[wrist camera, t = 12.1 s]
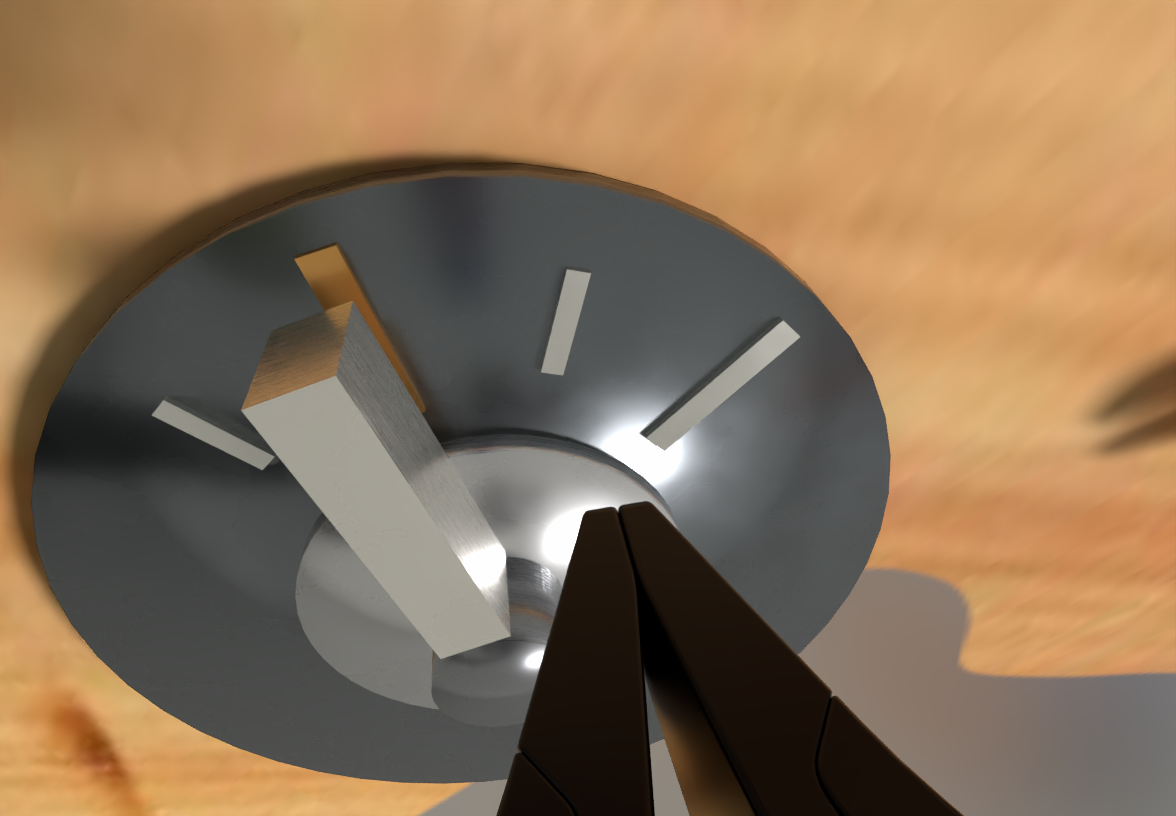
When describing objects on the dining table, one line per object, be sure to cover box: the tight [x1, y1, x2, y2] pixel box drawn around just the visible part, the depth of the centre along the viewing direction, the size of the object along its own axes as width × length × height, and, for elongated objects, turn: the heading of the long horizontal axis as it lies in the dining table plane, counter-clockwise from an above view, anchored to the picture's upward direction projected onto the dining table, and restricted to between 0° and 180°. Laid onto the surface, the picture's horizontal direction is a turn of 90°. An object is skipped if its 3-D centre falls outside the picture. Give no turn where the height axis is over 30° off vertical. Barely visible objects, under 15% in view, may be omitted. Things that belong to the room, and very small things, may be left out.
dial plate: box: [31, 164, 890, 783], centre depth 25 cm, size 26×26×1 cm
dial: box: [241, 300, 680, 727], centre depth 21 cm, size 17×12×4 cm
